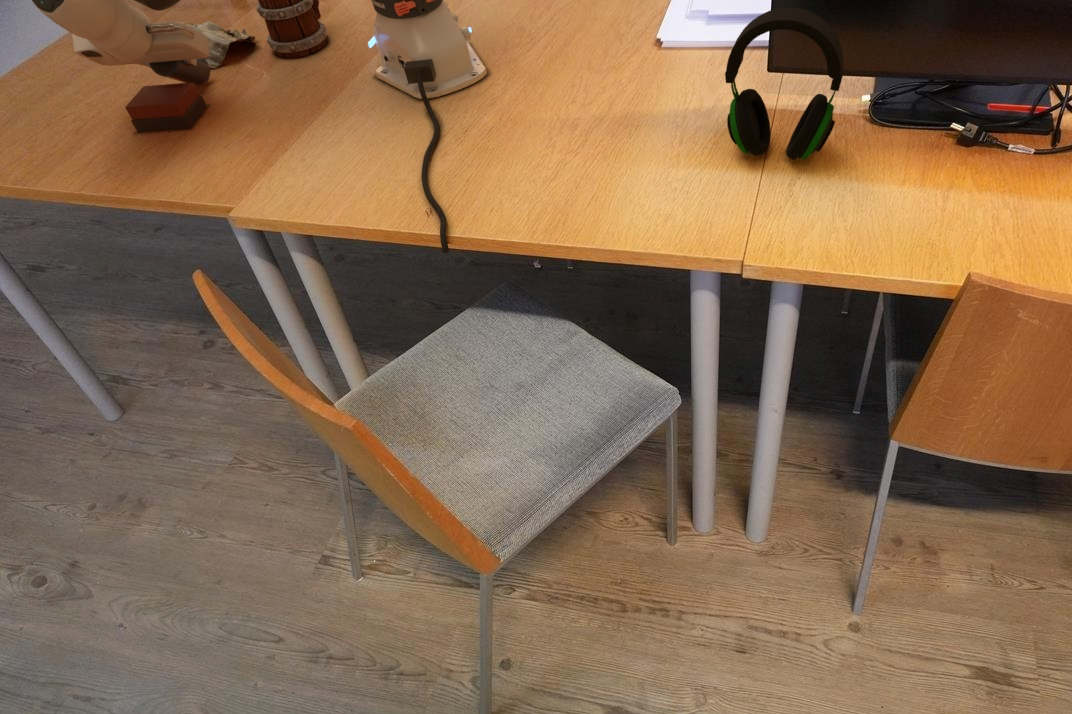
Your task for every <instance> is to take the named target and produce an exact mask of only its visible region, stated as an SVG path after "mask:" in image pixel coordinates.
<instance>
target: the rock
mask: <svg viewBox="0 0 1072 714" xmlns="http://www.w3.org/2000/svg"><path fill="white" fill-rule="evenodd" d="M183 23H184V24H187V25H189V26H191V27H193V28H194V29H196V30H198V31H200V32H201V33H203V34H204V35H206V36H207V37H208V40H209V56H208V57H207V58H204V59H205V60H206V61H207V62H208V64H209V67H210V69H211V68H212V69H218V68H219V67H221V66H222V65H223V64H222V62H223V61H224V59H225V57H226V54H227V52H228V49H229V46H230V44H231V43H234V42H238V41H239V42H244V41H245V42H246V43H254V42H255V43H256V36H253V35H248V33H247V31H246V29H245V28H243V29H242V30H241V31H239V30H237V29H232V30H231V29H228V30H225V29H224V28H223V27H221V26H220V25H219V24H218V23H215V22H214V21H211V20H208V21H204V22H203V23H191V22H189V23H188V22H183Z"/></svg>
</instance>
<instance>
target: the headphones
mask: <svg viewBox="0 0 1072 714" xmlns="http://www.w3.org/2000/svg"><path fill="white" fill-rule="evenodd" d="M779 30H785V31H786V30H787V31H793V32H797V33H800V34H803V35H804V36H806V37H808V38H809V39H811V40H812V41H813V42H814V43H816V45H817V46H818V47H819V48H820V50H821V51H822V53H823V56H824V59H825V61H826V68H827V75H828V77H829V78H830V79H831V84H830V87H829V88H830V89H829V90H830V91H833V93H832V95H831V96H830V99H829V100H828V96H827V95H825V94H823V93H817V94H816V95H814V96H813V97H812V99H810V101H809V103H808V104H807V107H806V108H805V110H804V111H803V113H802V115H801V117H800V118H799V120H798V122H797V123H796V126H795V128H794V130H793V132H792V134H791V136H790V139H789V141H788V144H787V147H786V149H785V155H786V157H787V158H788V159H790V160H793V161H794V160H797V159H801V160H807V159H808V158H809V157H810V156H811V155H812V154H814V153H819V152H820V151H821V150H822V149H823V147H824V146H825V144H826V142H827V141H828V139H829V137H830V135H831V133H832V131H833V129H834V127H835V123H836V121H835V120H833V119H834V118H833V117H834V109H835V106H834V104H832V102H833V100H834V97H835V94H836V92H839V91H840V88H841V84H842V82H843V76H844V73H845V70H844V54H843V48H842V45H841V42H840V39H839V37H838V36H837V34H836V32H835V31H834V29H833V28H832V27H831V26H830V24H829V23H828V22H827V21H825V20H824V19H823V18H822V17H821V16H819V15H818V14H816V13H814V12H812V11H810V10H807V9H804V8H800V7H792V6H791V7H787V6H785V7H778V8H774V9H770V10H768V11H766V12H763V13H761V14H759V15H758V16H757V17H755V18H754V19H752V20H751V21H750V22H748V24H747V25H746V26H744V28H743V29H742V31H741V32H740V33H739V35H738V37H737V38H736V40H735V43H734V44H733V46H732V49H731V51H730V52H729V55H728V58H727V62H726V69H725V72H724V78H725V79H724V80H725V83H726V84H730V88H731V92H732V96H733V99H732V100H731V102H730V105H729V113H728V114H727V118H726V119H727V120H726V122H727V124H726V125H727V129H728V134H729V137H730V139H731V141H732V142H733V143H734V144H735V145H736V146H737V148H738V150H739V151H740V152H741V153H742V154H745V155H752V156H754V157H759V156H760V157H761V156H763V155H765V154H766V153H767V152H768V151H769V149H770V145H771V139H772V138H771V137H772V136H771V134H772V131H771V123H770V118H769V117H770V116H769V113H768V110H767V106H766V104H765V101H764V99H763V98H762V96H761V94H759V92H758V91H757V90H756V89H754V88H746V89H744V90H741V92H740V93H739V90H738V88H737V84H736V78H737V77H738V74H739V70H740V67H741V65H742V63H743V61H744V57H745V55H744V54H745V53H746V52H745V51H746V49H747V47H749V45H750V44H751V43H752V42H753V41H754V40H756V38H758V37H760V36H762V35H764V34H767V33H769V32H772V31H779Z"/></svg>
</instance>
